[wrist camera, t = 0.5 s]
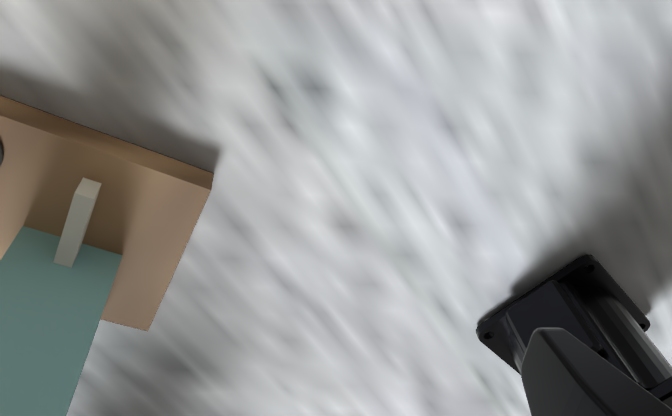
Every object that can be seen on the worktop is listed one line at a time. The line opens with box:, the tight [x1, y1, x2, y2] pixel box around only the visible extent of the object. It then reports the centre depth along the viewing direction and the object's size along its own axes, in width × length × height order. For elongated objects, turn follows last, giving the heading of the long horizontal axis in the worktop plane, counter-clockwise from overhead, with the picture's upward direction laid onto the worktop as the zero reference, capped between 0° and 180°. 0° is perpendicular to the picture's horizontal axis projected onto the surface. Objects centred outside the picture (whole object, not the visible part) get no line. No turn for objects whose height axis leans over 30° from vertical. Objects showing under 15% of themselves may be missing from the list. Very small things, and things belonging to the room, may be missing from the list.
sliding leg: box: [0, 177, 123, 416], centre depth 16 cm, size 4×6×10 cm, turn 153°
